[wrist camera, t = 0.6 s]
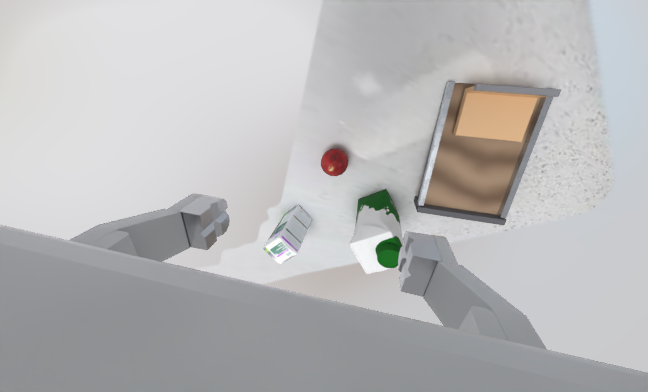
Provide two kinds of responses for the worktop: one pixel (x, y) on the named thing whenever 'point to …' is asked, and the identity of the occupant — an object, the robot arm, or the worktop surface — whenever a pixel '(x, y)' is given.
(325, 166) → the onion
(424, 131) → the worktop surface
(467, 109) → the cart
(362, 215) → the milk carton
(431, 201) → the dock
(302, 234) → the syrup box
